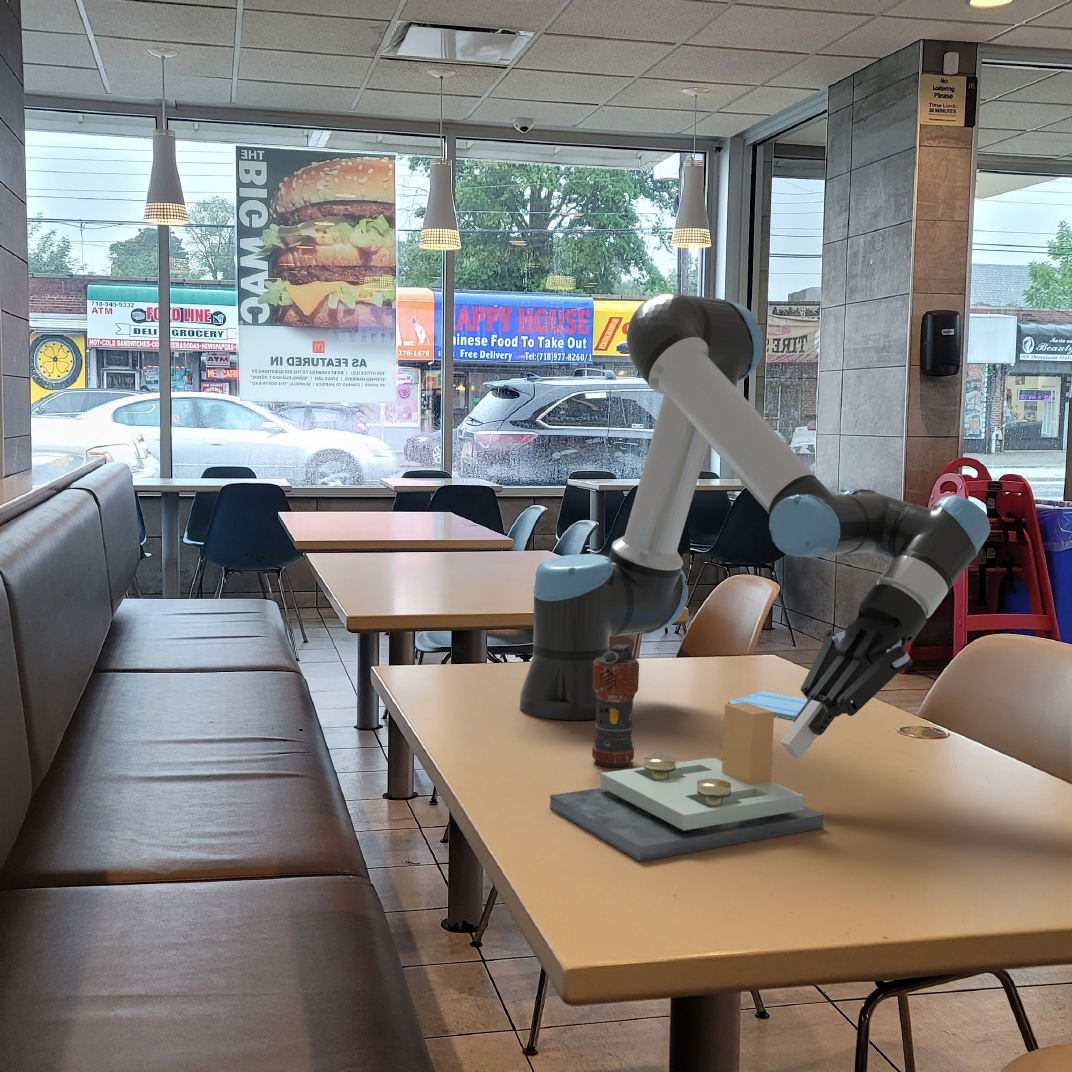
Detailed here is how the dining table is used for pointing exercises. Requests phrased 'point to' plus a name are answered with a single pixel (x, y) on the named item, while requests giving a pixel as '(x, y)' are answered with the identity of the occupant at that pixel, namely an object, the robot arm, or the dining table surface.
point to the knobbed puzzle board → (740, 767)
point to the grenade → (614, 706)
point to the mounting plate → (658, 837)
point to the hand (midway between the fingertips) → (790, 750)
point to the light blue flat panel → (774, 703)
